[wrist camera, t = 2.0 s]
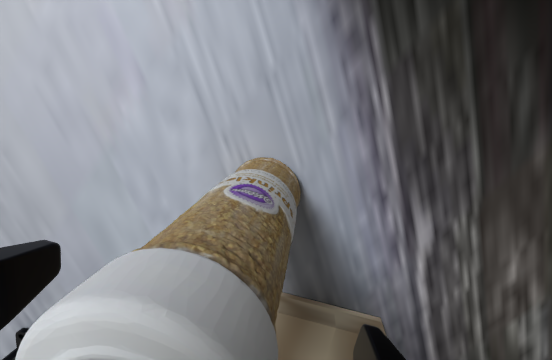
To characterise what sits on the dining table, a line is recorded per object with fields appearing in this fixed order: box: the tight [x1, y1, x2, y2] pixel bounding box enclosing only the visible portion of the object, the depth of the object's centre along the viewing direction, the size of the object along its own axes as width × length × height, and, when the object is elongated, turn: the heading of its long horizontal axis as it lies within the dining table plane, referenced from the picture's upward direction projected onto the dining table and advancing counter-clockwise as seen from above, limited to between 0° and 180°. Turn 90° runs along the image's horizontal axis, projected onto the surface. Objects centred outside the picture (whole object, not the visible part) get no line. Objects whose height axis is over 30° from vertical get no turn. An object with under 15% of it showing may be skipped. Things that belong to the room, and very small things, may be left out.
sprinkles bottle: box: [15, 158, 301, 360], centre depth 11 cm, size 5×5×14 cm
